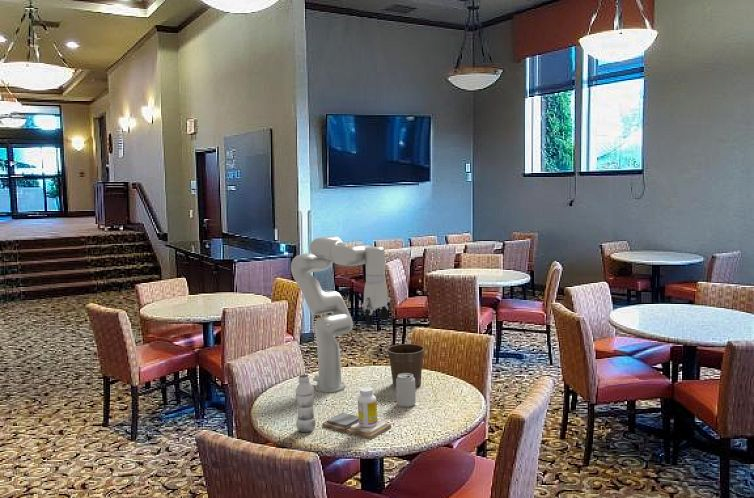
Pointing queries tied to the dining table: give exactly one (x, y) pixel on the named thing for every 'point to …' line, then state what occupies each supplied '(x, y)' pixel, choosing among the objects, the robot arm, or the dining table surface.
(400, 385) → the can
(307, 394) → the plastic bottle
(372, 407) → the supplement bottle
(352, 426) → the makeup compact
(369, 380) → the dining table surface
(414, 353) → the plant pot
